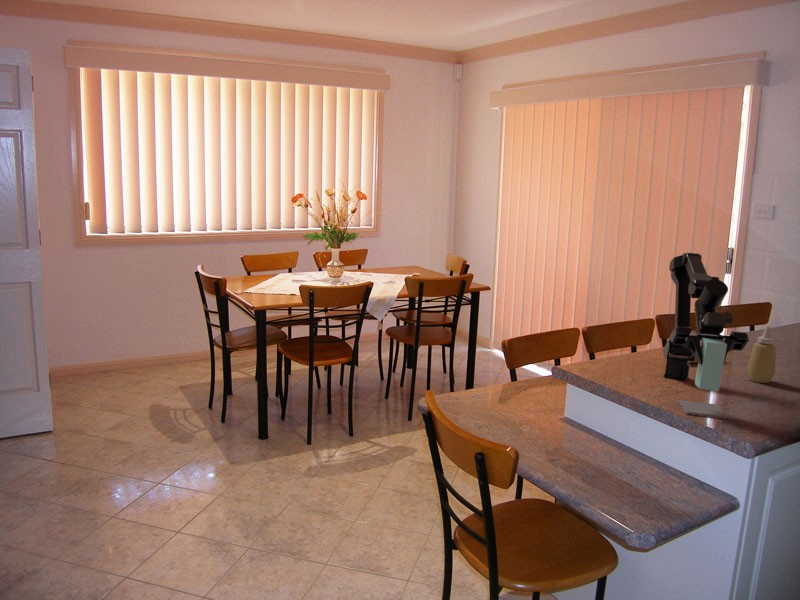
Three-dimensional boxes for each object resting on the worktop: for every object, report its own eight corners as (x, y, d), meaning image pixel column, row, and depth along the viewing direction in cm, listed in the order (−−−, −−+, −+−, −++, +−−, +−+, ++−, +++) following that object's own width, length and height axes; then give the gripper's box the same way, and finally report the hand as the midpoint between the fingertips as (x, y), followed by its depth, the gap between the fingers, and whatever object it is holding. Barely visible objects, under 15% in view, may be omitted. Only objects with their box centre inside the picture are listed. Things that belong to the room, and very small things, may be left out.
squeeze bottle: (770, 379, 220) (779, 326, 217) (775, 386, 212) (784, 331, 209) (743, 375, 223) (752, 323, 219) (747, 382, 215) (756, 327, 212)
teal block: (694, 383, 185) (702, 337, 183) (713, 385, 184) (721, 340, 182) (699, 388, 180) (707, 342, 178) (718, 391, 180) (727, 344, 177)
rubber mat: (678, 402, 189) (678, 400, 189) (715, 407, 188) (716, 404, 187) (686, 414, 180) (686, 411, 179) (726, 419, 178) (726, 416, 178)
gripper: (679, 297, 183) (683, 345, 175) (752, 303, 180) (759, 353, 172) (669, 319, 192) (672, 366, 184) (738, 325, 189) (745, 374, 181)
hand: (712, 364), depth 180 cm, fingers closed on teal block, 5 cm apart
